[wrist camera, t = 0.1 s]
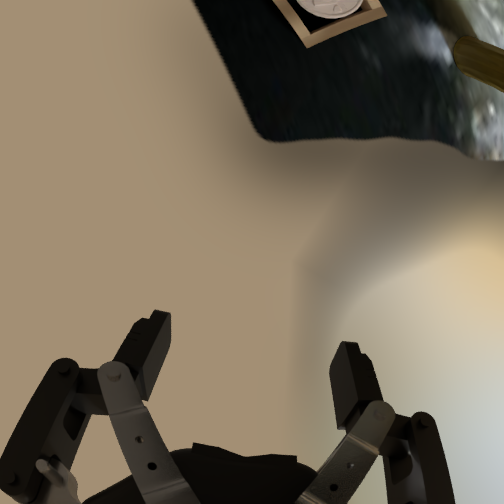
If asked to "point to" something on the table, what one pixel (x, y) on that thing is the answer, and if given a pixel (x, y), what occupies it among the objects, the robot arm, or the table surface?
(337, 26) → the sleeve
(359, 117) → the table surface
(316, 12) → the smoothie
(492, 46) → the vase
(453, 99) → the table surface
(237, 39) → the table surface
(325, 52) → the table surface
